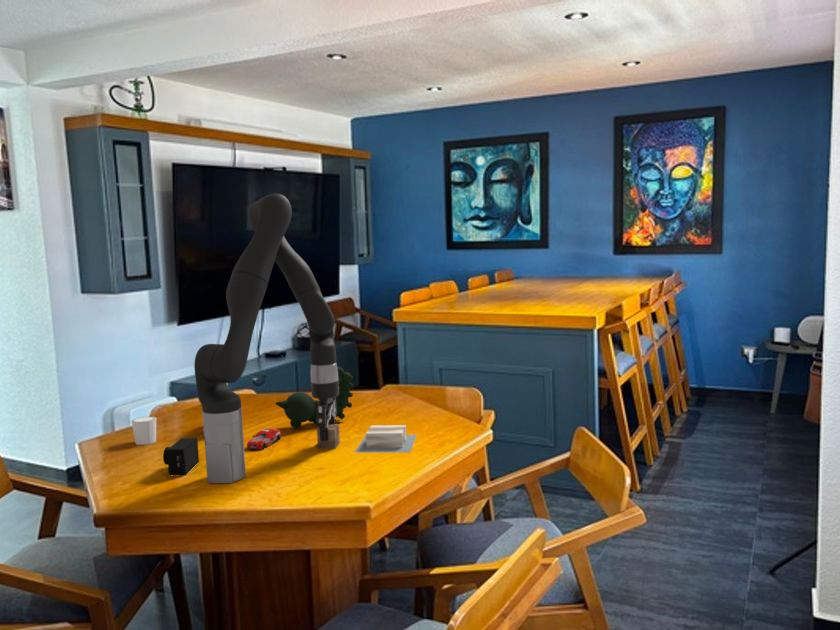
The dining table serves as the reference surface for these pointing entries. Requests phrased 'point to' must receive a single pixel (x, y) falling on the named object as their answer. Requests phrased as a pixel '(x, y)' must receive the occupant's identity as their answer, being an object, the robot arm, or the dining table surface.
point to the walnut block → (333, 438)
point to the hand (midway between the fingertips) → (328, 436)
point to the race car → (264, 439)
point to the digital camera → (181, 456)
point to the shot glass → (144, 430)
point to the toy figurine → (316, 403)
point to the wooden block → (386, 436)
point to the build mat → (406, 448)
